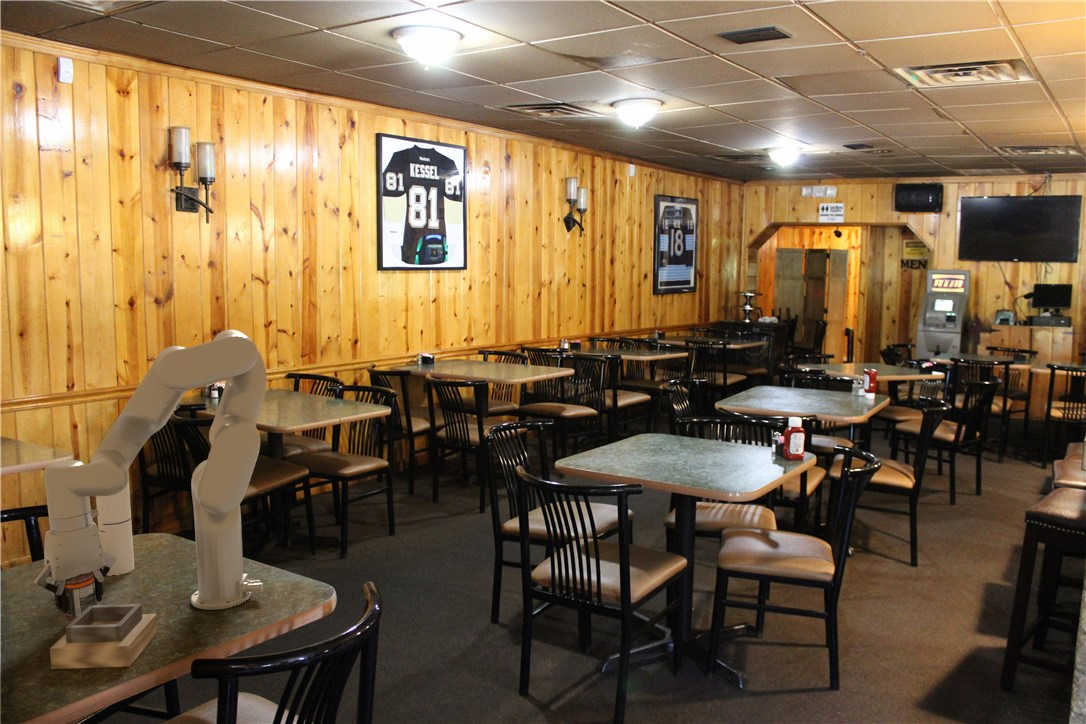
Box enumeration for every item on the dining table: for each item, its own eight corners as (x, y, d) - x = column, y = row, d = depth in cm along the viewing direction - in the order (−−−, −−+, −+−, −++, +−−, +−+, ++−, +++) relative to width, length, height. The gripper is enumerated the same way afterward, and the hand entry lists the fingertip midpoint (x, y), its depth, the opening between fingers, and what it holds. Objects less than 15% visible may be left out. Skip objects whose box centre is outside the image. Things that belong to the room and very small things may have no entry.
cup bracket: (157, 632, 171) (155, 599, 170) (129, 666, 157) (127, 630, 156) (86, 634, 170) (83, 601, 169) (51, 669, 156) (48, 633, 155)
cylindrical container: (125, 575, 200) (118, 473, 197) (95, 575, 200) (88, 473, 197) (139, 564, 207) (133, 465, 204) (111, 564, 207) (104, 465, 204)
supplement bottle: (61, 617, 175) (55, 565, 173) (91, 607, 179) (86, 556, 177) (71, 625, 171) (65, 572, 169) (102, 615, 175) (96, 563, 173)
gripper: (107, 507, 181) (115, 587, 183) (17, 529, 168) (27, 615, 170) (122, 514, 176) (130, 595, 178) (31, 537, 163) (41, 625, 165)
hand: (80, 604), depth 174 cm, fingers closed on supplement bottle, 6 cm apart
